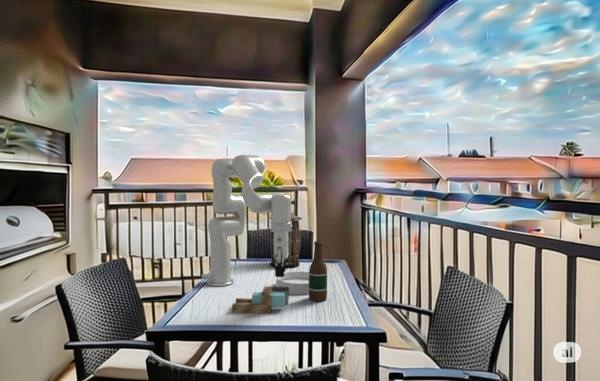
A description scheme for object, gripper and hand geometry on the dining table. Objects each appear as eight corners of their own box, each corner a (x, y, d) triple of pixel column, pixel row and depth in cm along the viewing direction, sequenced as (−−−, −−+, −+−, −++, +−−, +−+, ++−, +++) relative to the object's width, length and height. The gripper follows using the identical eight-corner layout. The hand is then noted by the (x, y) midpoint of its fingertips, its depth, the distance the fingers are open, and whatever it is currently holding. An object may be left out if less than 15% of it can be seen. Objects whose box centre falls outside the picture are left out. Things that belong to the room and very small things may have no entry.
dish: (292, 279, 188) (292, 269, 188) (332, 285, 177) (332, 275, 177) (266, 290, 169) (266, 279, 169) (308, 298, 158) (308, 286, 158)
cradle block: (267, 304, 148) (267, 292, 148) (269, 298, 156) (269, 286, 156) (287, 304, 148) (287, 292, 148) (289, 298, 156) (289, 286, 156)
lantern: (299, 261, 229) (299, 196, 228) (303, 268, 210) (304, 197, 209) (267, 262, 227) (267, 195, 226) (269, 269, 207) (269, 197, 207)
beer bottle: (321, 303, 150) (322, 243, 150) (305, 299, 155) (305, 241, 154) (330, 298, 157) (331, 241, 157) (314, 295, 161) (314, 239, 161)
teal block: (252, 306, 141) (252, 295, 140) (253, 302, 145) (253, 292, 144) (284, 306, 140) (284, 295, 140) (284, 303, 144) (284, 292, 144)
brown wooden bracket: (232, 312, 139) (232, 291, 139) (236, 305, 147) (236, 286, 146) (269, 313, 139) (270, 292, 138) (272, 306, 146) (272, 286, 146)
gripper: (289, 230, 133) (289, 280, 133) (291, 224, 150) (291, 268, 151) (268, 230, 133) (267, 279, 133) (273, 224, 150) (272, 268, 151)
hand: (280, 273), depth 142 cm, fingers open, 7 cm apart
